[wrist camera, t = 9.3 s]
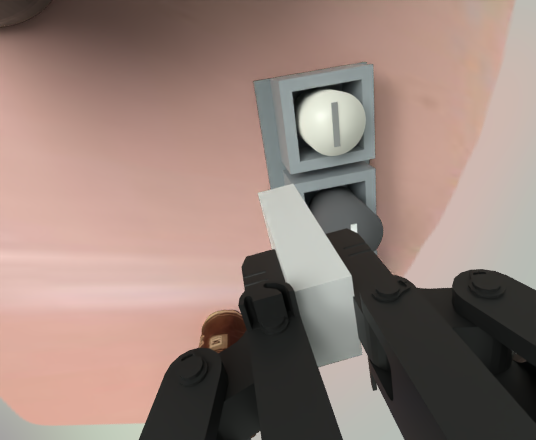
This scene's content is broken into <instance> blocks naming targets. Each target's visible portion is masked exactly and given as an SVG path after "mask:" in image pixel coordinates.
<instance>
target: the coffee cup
mask: <svg viewBox="0 0 536 440" xmlns="http://www.w3.org/2000/svg"><path fill="white" fill-rule="evenodd" d="M246 330H247V329H246V326H245V323H244V320H243V317H242V315H241V314H239V313H238V312H236V311H234V310H229V311H227V310H222V311H217V312H215V313H213V314H211V315H210V316H209V317H208V318H207V319H206V321H205V323H204V324H203V327H202V335H201V337H200V343H199V348H210V349H212V350H214V351H216V352H217V353H220V352H221V351H223V350H225V349H227V348H228V347H230V346H231V345H233V344H234V343H236V342H237V341H238V340H239V339H240V338H241V337H242V336H243V334H244V333H245V331H246ZM257 433H258V432H257ZM255 435H256V434H254V435H253V436H251V438H252V437H254V436H255Z"/></svg>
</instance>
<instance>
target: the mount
mask: <svg viewBox="0 0 536 440" xmlns="http://www.w3.org/2000/svg"><path fill="white" fill-rule="evenodd" d="M253 83H254V89H255V95H256V102H257V108H258V114H259V120H260V126H261V133H262V139H263V145H264V151H265V158H266V164H267V170H268V176H269V183H270V189H275V188H278V187H282V186H286V185H290V184H294V186H295V187H296V189H297V191H298V192H299V194H300V195H301V197H302V198H303V200H304V202H305V203H306V205H307V206H309V203H310V201H311V199H312V198H313V196H314V195H315V194H316V193H317V192H319V191H320V190H322V189H326V188H331V187H336V186H342V187H345V188H347V189H349V190H350V191H351V192H352V193H353V194H354V195H356V196H357V197H358V198H359V199H360V200H361V201H362V202H363V203H364V204H365V205H366V206H367V207H368V208H370V209H371V210H372V211H373V212H374V213H375V214H376V176H375V168H374V167H372V166H370V165H369V159H374V158H375V127H374V79H373V64H367V62H361V63H355V64H349V65H343V66H338V67H332V68H326V69H320V70H315V71H309V72H303V73H298V74H292V75H286V76H280V77H275V78H269V79H263V80H258V81H253ZM316 87H322V88H327V89H332V90H337V91H342V92H346V93H349V94H351V95H353V96H354V97H356V98H357V99H358V100H359V101H360V103H361V104H362V106H363V108H364V111H365V115H366V125H365V130H364V133H363V135H362V137H361V139H360V141H359V142H358V143H357V145H356V146H355V147H354V148H352V149H351V150H350V151H348V152H346V153H344V154H342V155H338V156H327V155H323V154H321V153H319V152H317V151H316V150H315V149H313V148H312V147H311V146H310V145H309V144H307V143H306V142H305V141H304V140H303V139H302V138H300V137H299V136H298V135H297V131H296V122H295V114H294V105H293V104H294V102H295V100H296V99H297V97H298V96H299V95H300V94H301V93H303V92H304V91H306V90H308V89H310V88H316ZM374 253H375V254H376V255H377V250H375V251H374Z"/></svg>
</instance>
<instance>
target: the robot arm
mask: <svg viewBox="0 0 536 440" xmlns="http://www.w3.org/2000/svg"><path fill="white" fill-rule="evenodd" d="M51 1H52V0H0V27H3V26H10V25H15V24H18V23H21V22H24V21H26V20H28V19H30V18H32V17H34V16H35V15H37V14H38V13H40V12H41V11H42V10H43V9H44V8H46V7H47V6H48V5H49V3H50V2H51ZM258 196H259V200H260V204H261V208H262V212H263V216H264V220H265V223H266V227H267V231H268V235H269V239H270V243H271V247H272V250H269V251H265V252H262V253H258V254H255V255H251V256H247V257H246V259H245V261H244V263H243V265H242V274H243V281H244V286H245V287H244V288H245V291H244V293H243V294H242V295H241V297H240V299H239V305H238V306H239V309H240V312H241V315H242V317H243V320H244V323H245V326H246V329H247V330H246V331H245V333H244V334H243V336H242V337H241V338H240V339H239V340H238V341H237V342H236V343H234V344H233V345H231V346H230V347H228V348H227V349H225V350H223V351H221V352H220V353H217V352H216V351H214V350H212V349H210V348H197V349H193V350H189V351H188V352H186V353H184V354H182V355H180V356H179V357H178V358H177V359H176V360H175V361H174V362H173V363H172V364H171V365H170V367H169V368H168V370H167V372H166V373H165V375H164V378H163V380H162V383H161V385H160V388H159V390H158V393H157V395H156V398H155V400H154V403H153V405H152V408H151V410H150V413H149V415H148V418H147V420H146V423H145V425H144V428H143V430H142V433H141V436H140V438H139V440H251V436H253V435H254V434H256V433H257V432H259V431H261V438H262V440H343V439H342V436H341V433H340V430H339V427H338V424H337V421H336V418H335V415H334V412H333V409H332V407H331V404H330V401H329V398H328V395H327V392H326V389H325V386H324V384H323V381H322V378H321V375H320V372H319V369H318V367H321V366H325V365H328V364H332V363H335V362H339V361H342V360H346V359H348V358H352V357H356V356H359V355H362V348H361V343H362V345H363V347H364V349H365V351H366V353H367V355H368V362H369V369H370V378H371V384H372V388H373V391H374V390H377V385H378V387H379V389H380V391H381V393H382V395H383V397H384V399H385V401H386V403H387V405H388V407H389V409H390V411H391V413H392V415H393V417H394V419H395V421H396V423H397V425H398V427H399V429H400V431H401V433H402V435H403V437H404V439H405V440H536V290H534V289H532V288H530V287H528V286H526V285H524V284H522V283H520V282H518V281H517V280H514V279H513V278H510V277H509V276H507V275H504V274H501V273H499V272H496V271H490V270H483V269H478V270H469V271H465V272H462V273H460V274H459V275H458V276H456V277H455V278H454V281H453V285H452V288H437V289H422V288H416V287H415V285H414V284H412V283H411V282H410V281H408V280H407V279H405V278H402V277H400V276H396V275H392V274H391V272H390V271H389V270H388V269H387V268H386V266H385V265H384V264H383V263H382V261H381V260H380V259H379V258H378V257H377V255H376V254H375V253H374V252H373V251H372V250H371V248H370V247H369V246H368V244H366V242H365V241H364V240H363V238H362V237H361V236H360V235H359V234H358V233H356V232H354V231H352V230H350V229H348V228H346V229H342V230H338V231H335V232H331V233H327V234H325V233H324V231H323V230H322V228H321V227H320V225H319V224H318V222H317V220H316V219H315V217H314V216H313V214H312V213H311V211H310V209H309V208H308V206H307V205H306V203H305V202H304V200H303V198H302V197H301V195H300V194H299V192H298V191H297V189H296V187H295V186H294V184H290V185H286V186H282V187H278V188H275V189H271V190H267V191H263V192H260V193H258ZM513 351H514V352H513ZM376 383H377V384H376Z"/></svg>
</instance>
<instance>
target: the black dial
mask: <svg viewBox="0 0 536 440" xmlns="http://www.w3.org/2000/svg"><path fill="white" fill-rule="evenodd" d="M308 208H309V209H310V211H311V213H312V214H313V216H314V217H315V219H316V220H317V222H318V224H319V225H320V227H321V228H322V230H323V231H324V233H325V234H327V233H331V232H335V231H338V230H342V229H346V228H348V229H350V230H352V231H354V232H356V233H358V234H359V235H360V236H361V237H362V238H363V240H364V241H365V242H366V244H368V246H369V247H370V248H371V250H372V251H373V252H374V251H375V250H376V249H377V247H378V246H379V244H380V242H381V240H382V236H383V226H382V222H381V220H380V219H379V217H378V216H377V215H376V214H375V213H374V212H373V211H372V210H371V209H370V208H368V207H367V206H366V205H365V204H364V203H363V202H362V201H361V200H360V199H359V198H358V197H357V196H356V195H354V194H353V193H352V192H351V191H350V190H349V189H347V188H345V187H342V186H336V187H331V188H326V189H322V190H320V191H319V192H317V193H316V194H315V195H314V196H313V198H312V199H311V201H310V203H309V206H308Z"/></svg>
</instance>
